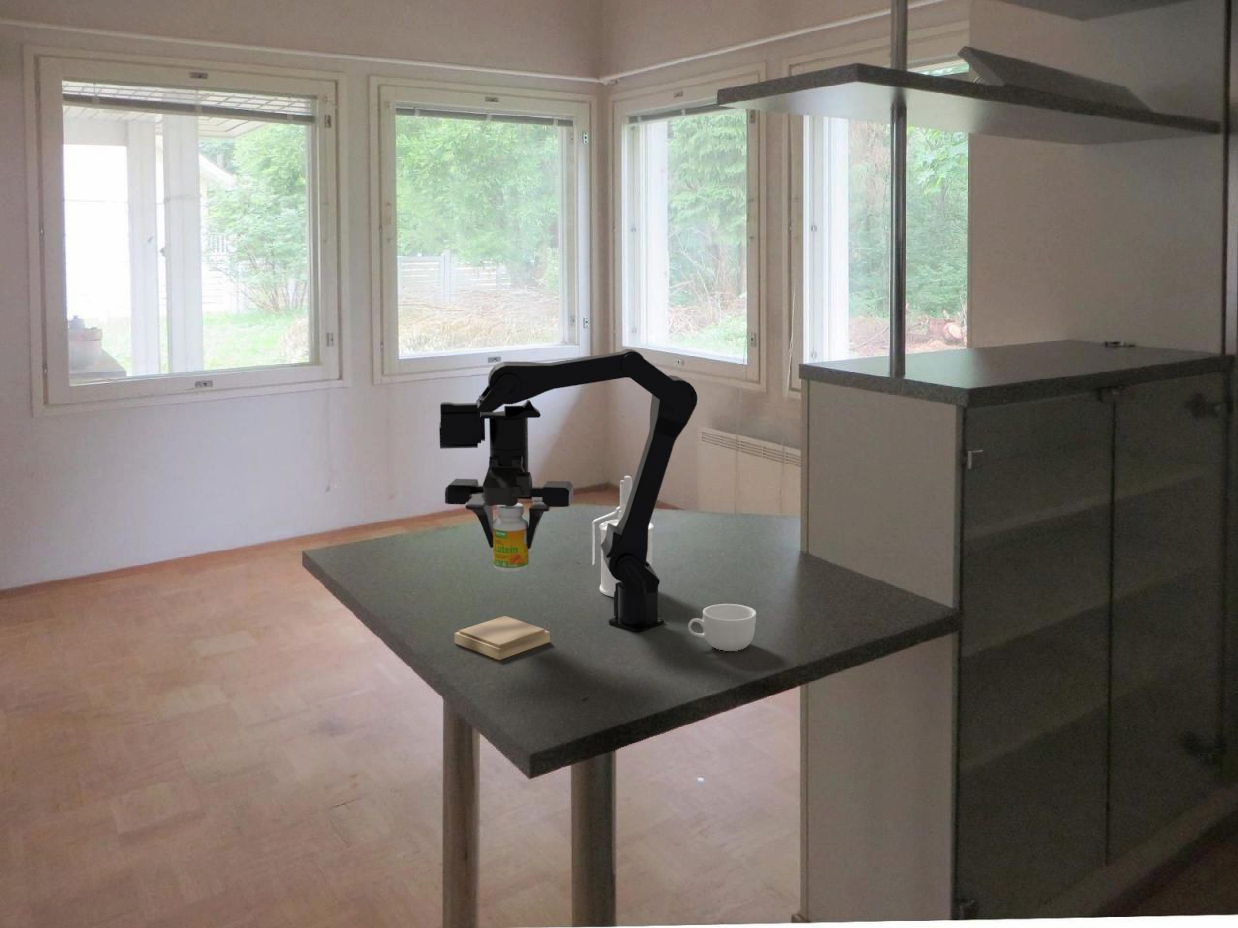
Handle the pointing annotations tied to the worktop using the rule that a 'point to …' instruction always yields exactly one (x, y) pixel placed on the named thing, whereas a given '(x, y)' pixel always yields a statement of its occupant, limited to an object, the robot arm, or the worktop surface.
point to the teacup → (727, 626)
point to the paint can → (606, 577)
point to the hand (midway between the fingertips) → (510, 547)
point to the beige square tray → (502, 637)
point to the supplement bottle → (510, 539)
